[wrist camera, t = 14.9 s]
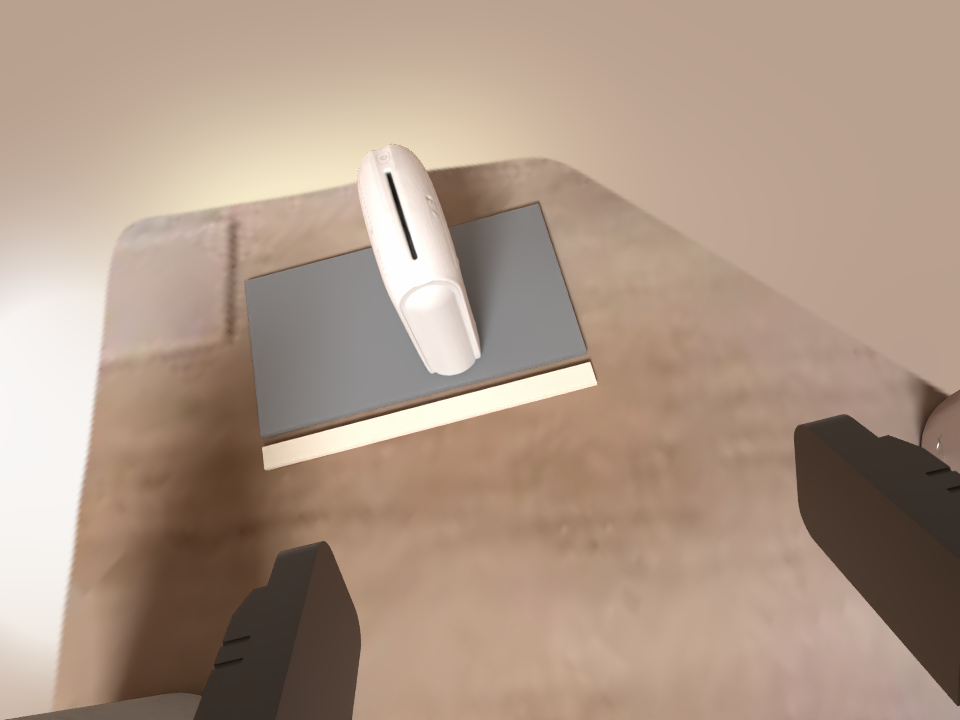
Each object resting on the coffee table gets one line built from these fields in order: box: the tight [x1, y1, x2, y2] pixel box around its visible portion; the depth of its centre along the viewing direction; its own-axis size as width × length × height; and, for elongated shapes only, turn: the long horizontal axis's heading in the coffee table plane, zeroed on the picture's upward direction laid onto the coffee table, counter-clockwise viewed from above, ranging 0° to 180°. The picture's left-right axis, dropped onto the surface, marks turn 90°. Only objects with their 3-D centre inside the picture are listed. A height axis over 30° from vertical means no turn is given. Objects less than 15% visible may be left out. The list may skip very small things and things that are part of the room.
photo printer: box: [358, 144, 481, 376], centre depth 40 cm, size 10×4×12 cm, turn 17°
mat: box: [245, 204, 597, 471], centre depth 45 cm, size 22×14×1 cm, turn 103°
